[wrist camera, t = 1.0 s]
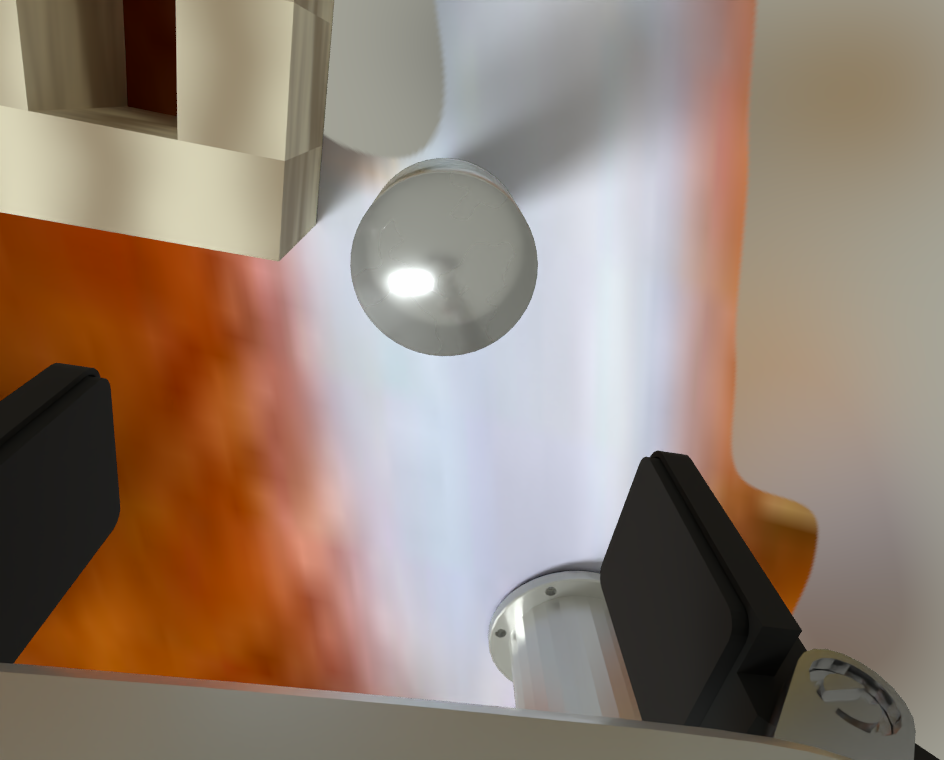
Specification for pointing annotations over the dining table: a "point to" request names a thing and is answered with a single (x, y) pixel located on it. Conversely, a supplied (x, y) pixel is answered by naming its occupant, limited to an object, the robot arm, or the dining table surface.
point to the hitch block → (168, 122)
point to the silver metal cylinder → (444, 259)
